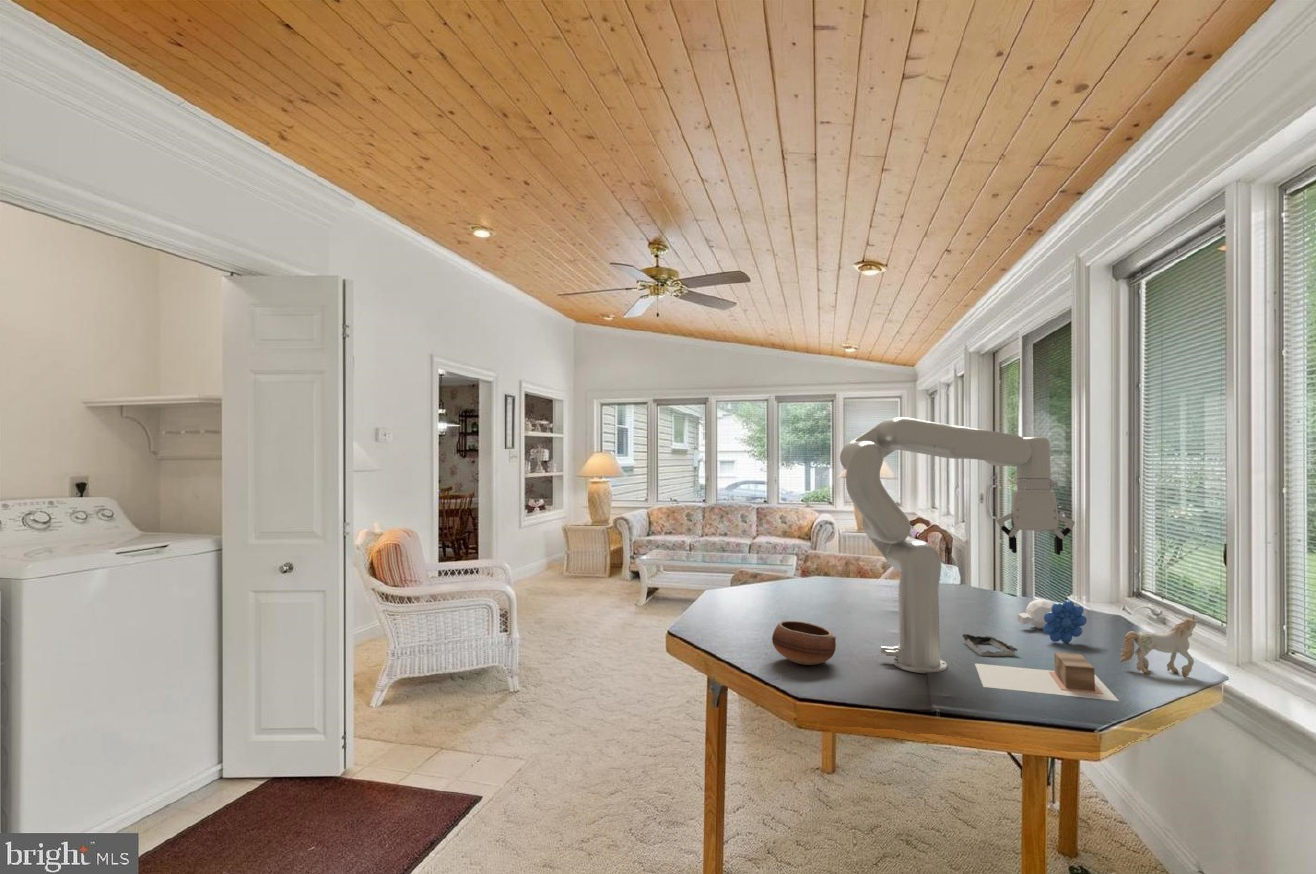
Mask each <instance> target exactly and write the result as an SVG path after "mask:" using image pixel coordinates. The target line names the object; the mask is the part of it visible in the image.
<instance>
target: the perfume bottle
mask: <svg viewBox="0 0 1316 874" xmlns="http://www.w3.org/2000/svg"><path fill="white" fill-rule="evenodd" d="M1053 605H1054V604H1053V603H1051V602H1050V601H1048V600H1047V599H1039V598H1038V599H1035V600H1033V601H1030V602H1028V605H1027V607H1026V609H1025V612H1021V613H1018V614H1017V621H1018V622H1019V623H1020V624H1021V625H1025V624H1027V625H1028V624H1031V625H1032V626H1034V627H1035V628H1036V629H1039V630H1043V627H1044V625H1045V624H1047V622H1045V620H1044V615H1045V614H1046V613H1048V612H1052V606H1053Z"/></svg>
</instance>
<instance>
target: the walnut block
mask: <svg viewBox="0 0 1316 874" xmlns="http://www.w3.org/2000/svg"><path fill="white" fill-rule="evenodd" d="M1054 671H1055V674H1056V675H1057V677H1058V678H1059V679H1060V681H1061V682H1062V683H1063V685H1064V686H1065V687H1066V688H1068V689H1078V690H1088V691H1095V675H1096V674H1095V667H1094V666H1093V665H1092V664H1091V663H1090V662H1089V661H1088V660H1087V658H1085V657H1084V656H1083V655H1082V654H1080V653H1072V652H1071V653H1070V652H1058V651H1054Z"/></svg>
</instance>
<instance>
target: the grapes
mask: <svg viewBox="0 0 1316 874" xmlns="http://www.w3.org/2000/svg"><path fill="white" fill-rule="evenodd" d="M1083 614H1084V608H1083V606H1082V605H1077V604H1076V605H1075V604H1074V601H1073V600H1066V601H1064V602H1063V604H1062V603H1060V602H1055V603H1054V604H1053V606H1052V612H1048V613H1046V614H1045V615H1044V620H1045V622H1047V624H1045V625H1044V627H1043V629H1042V630H1043V632H1044V633H1045V634H1047V635H1049V639H1050V641H1051V642H1055V643H1057V642H1059V641H1061V642H1062V643H1064V644H1068V643H1071V641H1072V640H1073V638H1078V637H1080V636H1082V634H1083V628H1082V627H1083V626H1085V625H1086V624H1087V621H1088V620H1087V617H1086V616H1085V615H1083Z"/></svg>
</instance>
